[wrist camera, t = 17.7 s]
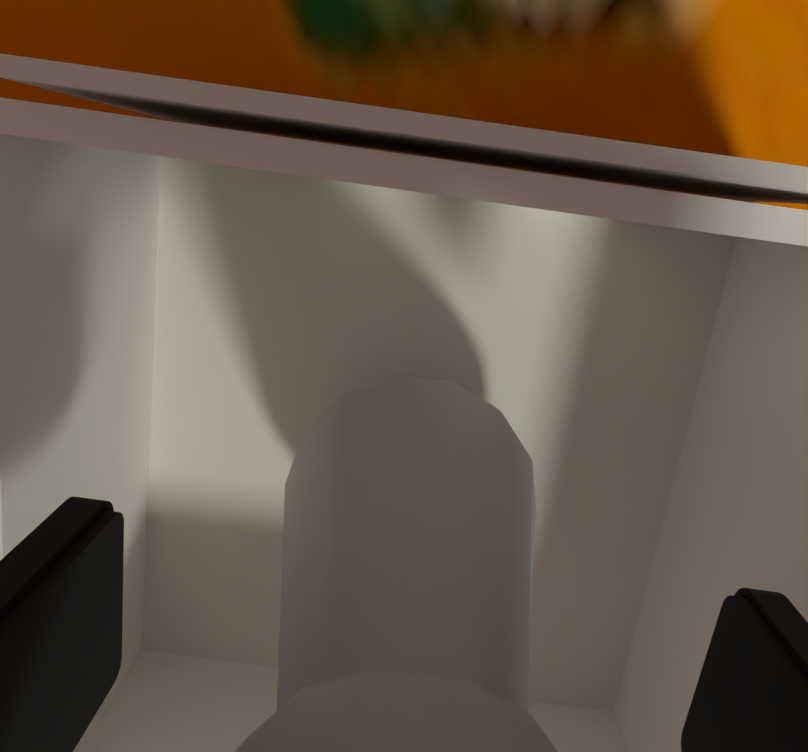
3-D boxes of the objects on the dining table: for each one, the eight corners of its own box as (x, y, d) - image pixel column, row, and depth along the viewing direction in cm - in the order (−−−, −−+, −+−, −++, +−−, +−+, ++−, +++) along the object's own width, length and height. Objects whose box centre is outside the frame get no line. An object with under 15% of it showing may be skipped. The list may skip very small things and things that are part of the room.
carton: (146, 105, 16) (-65, 44, 9) (786, 195, 17) (1058, 202, 10) (128, 670, 21) (-26, 923, 14) (637, 737, 21) (747, 1022, 14)
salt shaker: (349, 578, 19) (211, 1294, 7) (271, 395, 18) (-79, 877, 6) (549, 518, 19) (798, 1191, 6) (484, 322, 17) (637, 684, 5)
